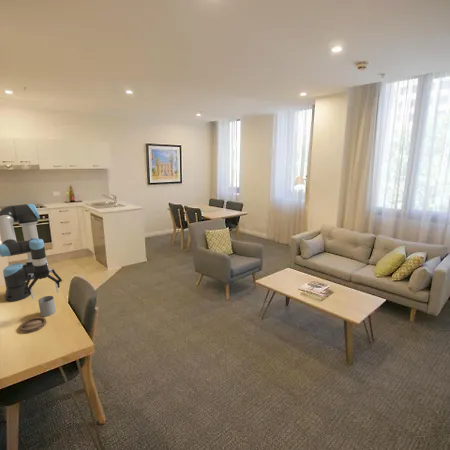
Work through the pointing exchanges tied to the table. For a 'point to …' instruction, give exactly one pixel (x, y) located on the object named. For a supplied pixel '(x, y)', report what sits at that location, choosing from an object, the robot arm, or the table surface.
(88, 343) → the table surface
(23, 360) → the table surface
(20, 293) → the robot arm
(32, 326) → the tray
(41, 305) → the cup
